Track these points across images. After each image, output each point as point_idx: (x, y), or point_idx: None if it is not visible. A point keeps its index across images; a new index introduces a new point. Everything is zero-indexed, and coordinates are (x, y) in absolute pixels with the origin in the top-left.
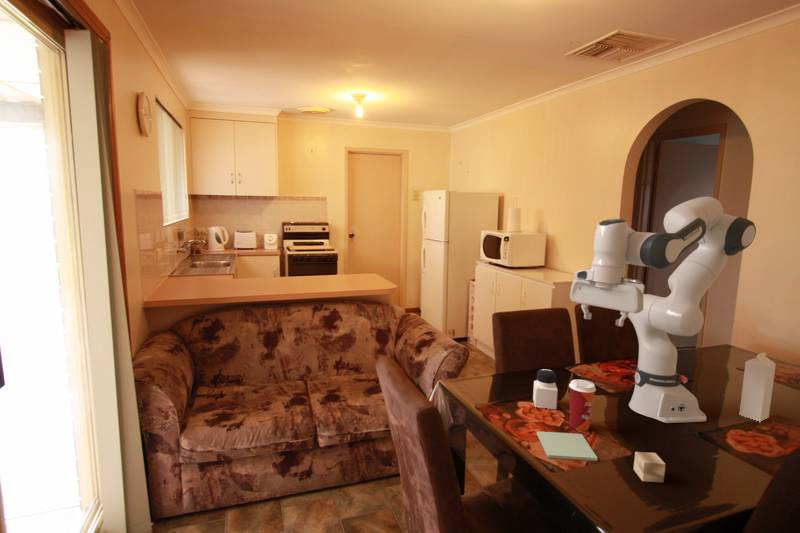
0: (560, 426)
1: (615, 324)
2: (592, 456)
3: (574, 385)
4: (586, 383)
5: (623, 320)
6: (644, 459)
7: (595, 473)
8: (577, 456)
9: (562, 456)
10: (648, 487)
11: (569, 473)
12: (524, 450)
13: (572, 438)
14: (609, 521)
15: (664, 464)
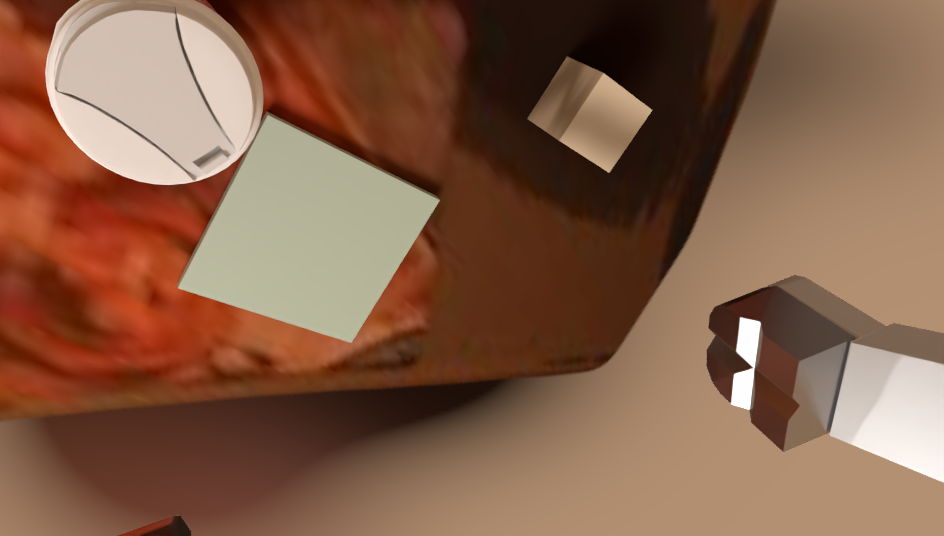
0: None
1: (720, 390)
2: (423, 209)
3: (172, 183)
4: (170, 72)
5: (874, 332)
6: (601, 155)
7: (479, 254)
8: (400, 259)
9: (375, 302)
10: None
11: (442, 324)
12: (278, 382)
13: (288, 185)
14: (605, 350)
15: (649, 112)
